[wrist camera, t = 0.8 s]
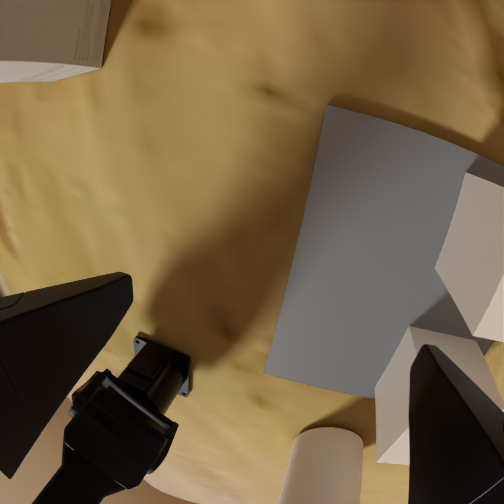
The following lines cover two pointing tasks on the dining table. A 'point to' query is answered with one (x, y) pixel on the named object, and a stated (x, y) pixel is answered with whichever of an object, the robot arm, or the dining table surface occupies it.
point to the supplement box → (51, 38)
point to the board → (370, 252)
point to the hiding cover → (476, 257)
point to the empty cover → (398, 384)
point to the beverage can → (324, 468)
